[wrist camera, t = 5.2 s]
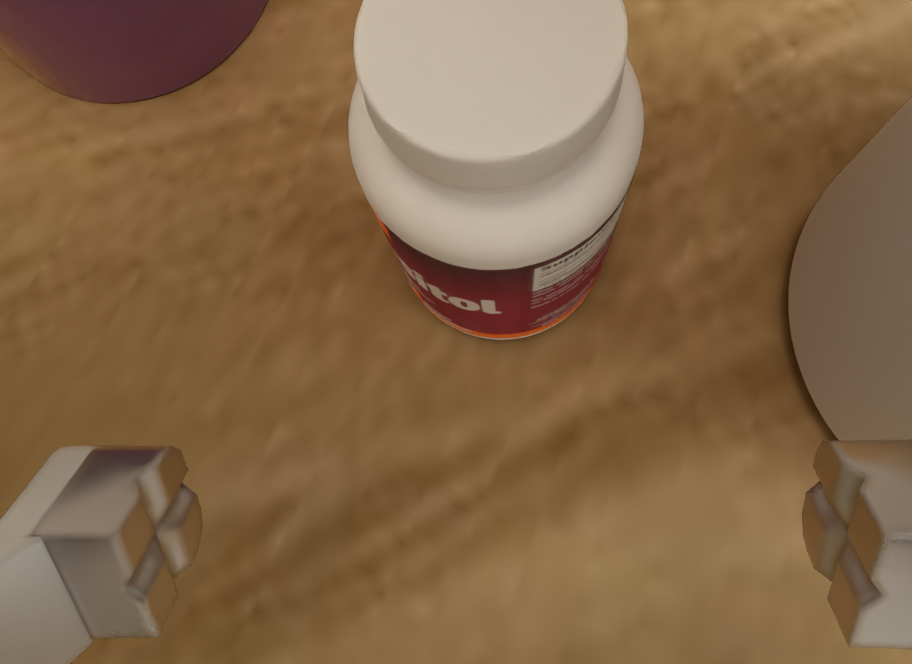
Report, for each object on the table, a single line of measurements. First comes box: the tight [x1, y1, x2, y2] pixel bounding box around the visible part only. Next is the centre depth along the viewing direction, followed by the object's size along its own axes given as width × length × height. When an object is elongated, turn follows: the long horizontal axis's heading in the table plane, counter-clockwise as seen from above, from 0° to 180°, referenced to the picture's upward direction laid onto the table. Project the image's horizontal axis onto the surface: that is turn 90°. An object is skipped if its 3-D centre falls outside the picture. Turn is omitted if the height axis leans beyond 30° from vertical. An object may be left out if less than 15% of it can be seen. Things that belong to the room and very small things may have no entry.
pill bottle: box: [348, 0, 644, 340], centre depth 18 cm, size 6×6×11 cm
